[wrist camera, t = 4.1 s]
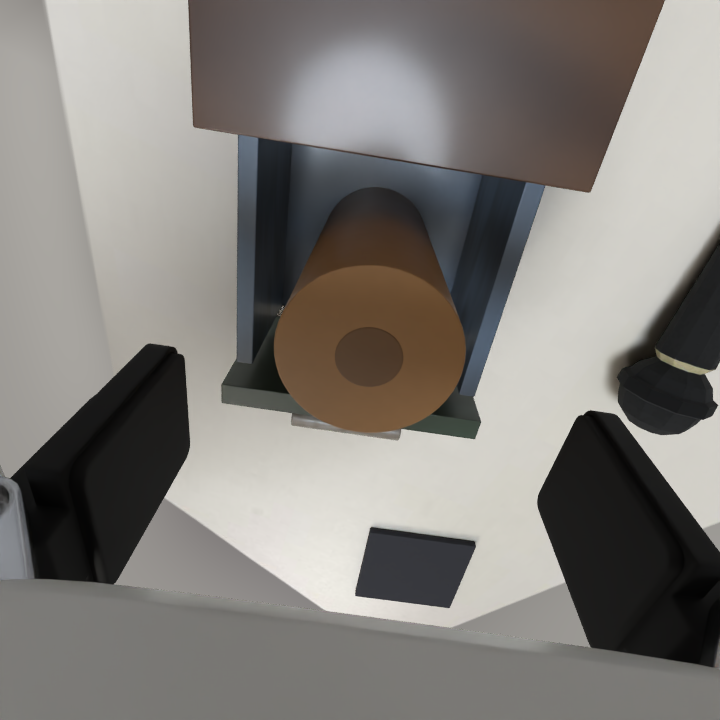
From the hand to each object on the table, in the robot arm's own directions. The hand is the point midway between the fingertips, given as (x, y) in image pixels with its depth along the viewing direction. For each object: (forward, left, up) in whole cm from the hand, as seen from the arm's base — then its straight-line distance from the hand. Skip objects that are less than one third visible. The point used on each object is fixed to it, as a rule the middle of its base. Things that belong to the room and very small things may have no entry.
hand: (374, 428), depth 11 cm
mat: (+9, -32, -20) cm, 39 cm away
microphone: (+22, 0, -20) cm, 29 cm away
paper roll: (0, 0, -18) cm, 18 cm away
